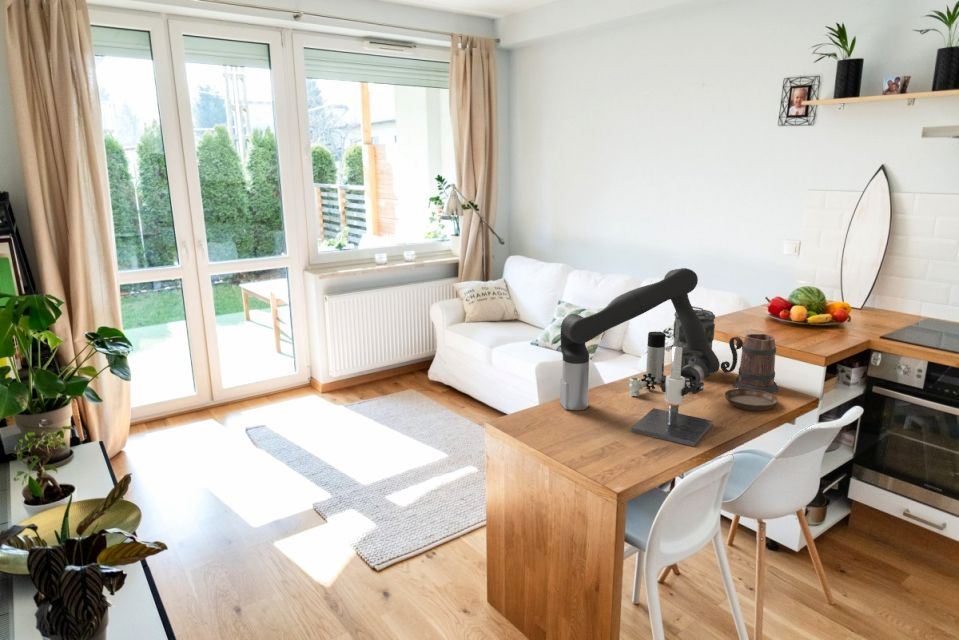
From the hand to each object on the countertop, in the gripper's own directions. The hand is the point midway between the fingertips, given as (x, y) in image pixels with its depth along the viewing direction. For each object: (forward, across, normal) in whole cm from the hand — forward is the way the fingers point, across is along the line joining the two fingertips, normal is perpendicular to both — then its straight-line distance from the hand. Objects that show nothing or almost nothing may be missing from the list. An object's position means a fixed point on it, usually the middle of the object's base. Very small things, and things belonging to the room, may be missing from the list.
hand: (673, 391), depth 194 cm
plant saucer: (-39, +16, +14) cm, 44 cm away
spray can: (-43, -21, +14) cm, 50 cm away
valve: (-28, -21, +14) cm, 38 cm away
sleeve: (-2, 0, +4) cm, 4 cm away
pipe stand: (-2, 0, +13) cm, 13 cm away
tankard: (-61, +10, +14) cm, 63 cm away
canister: (-63, -13, +14) cm, 66 cm away
